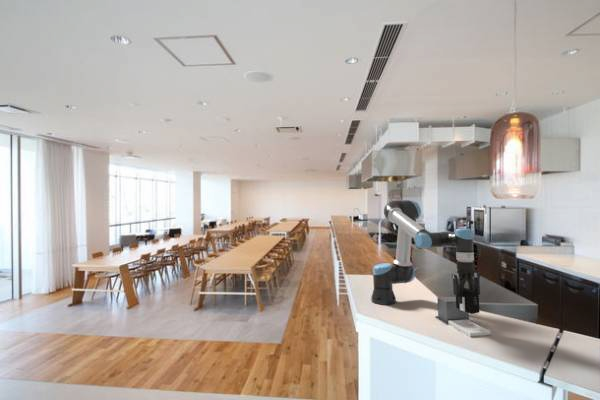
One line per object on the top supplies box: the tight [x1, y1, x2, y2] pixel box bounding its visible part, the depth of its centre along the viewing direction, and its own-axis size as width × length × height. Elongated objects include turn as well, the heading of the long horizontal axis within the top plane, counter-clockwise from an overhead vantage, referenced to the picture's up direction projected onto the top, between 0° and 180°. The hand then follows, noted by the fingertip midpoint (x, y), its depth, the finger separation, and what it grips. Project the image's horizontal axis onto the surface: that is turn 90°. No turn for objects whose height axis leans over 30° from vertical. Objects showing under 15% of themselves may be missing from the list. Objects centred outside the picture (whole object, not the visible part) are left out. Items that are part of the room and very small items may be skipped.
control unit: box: [434, 296, 473, 325], centre depth 159 cm, size 10×14×11 cm
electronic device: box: [455, 287, 480, 315], centre depth 146 cm, size 4×10×10 cm, turn 15°
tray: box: [447, 319, 491, 338], centre depth 146 cm, size 16×10×2 cm, turn 7°
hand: (467, 309), depth 146 cm, fingers closed on electronic device, 5 cm apart
